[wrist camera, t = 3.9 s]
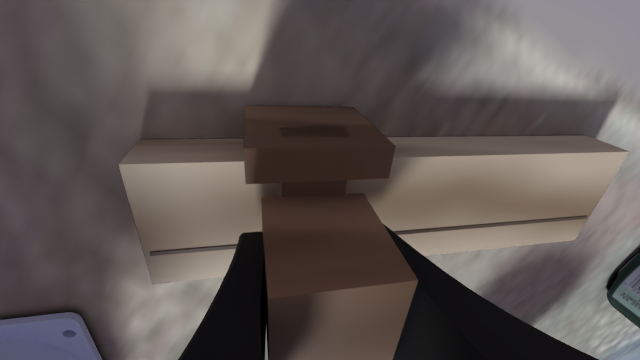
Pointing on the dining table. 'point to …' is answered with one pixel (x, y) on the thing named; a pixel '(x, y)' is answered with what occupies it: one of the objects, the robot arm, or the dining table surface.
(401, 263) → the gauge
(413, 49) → the dining table surface
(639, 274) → the coffee jar
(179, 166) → the board
